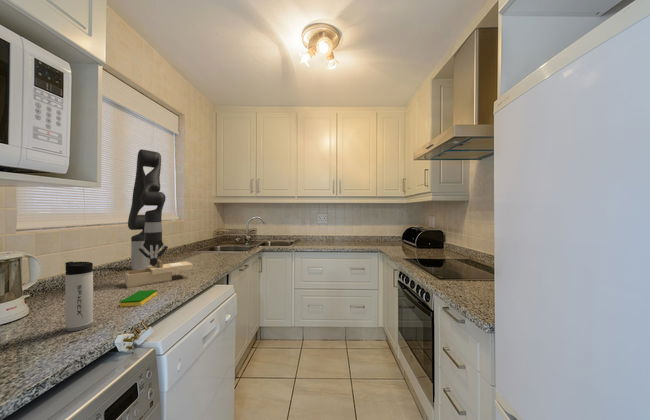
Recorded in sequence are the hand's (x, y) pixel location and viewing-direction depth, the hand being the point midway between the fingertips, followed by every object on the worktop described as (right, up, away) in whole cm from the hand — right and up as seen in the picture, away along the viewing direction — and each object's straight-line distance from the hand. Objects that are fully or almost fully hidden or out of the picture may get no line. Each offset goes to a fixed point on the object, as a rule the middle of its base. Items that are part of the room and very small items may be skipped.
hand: (153, 265), depth 134 cm
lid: (+6, -3, +5) cm, 8 cm away
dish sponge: (+13, -9, -28) cm, 32 cm away
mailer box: (-1, -8, -1) cm, 8 cm away
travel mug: (+11, -8, -53) cm, 55 cm away
